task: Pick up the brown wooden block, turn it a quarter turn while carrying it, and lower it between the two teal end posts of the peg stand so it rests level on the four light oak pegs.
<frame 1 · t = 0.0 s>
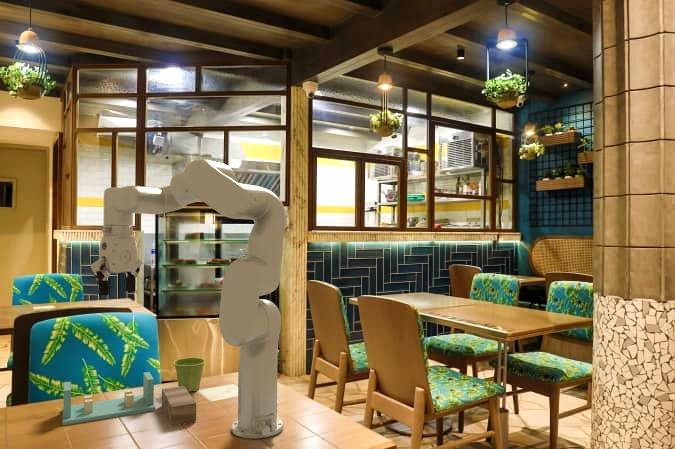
hand: (117, 293, 138), 31 cm above the table, tool pointing down, fingers open, 9 cm apart
plant pot: (189, 390, 152), on the table
peg stand: (109, 410, 134), on the table
brown wooden block: (178, 414, 132), on the table
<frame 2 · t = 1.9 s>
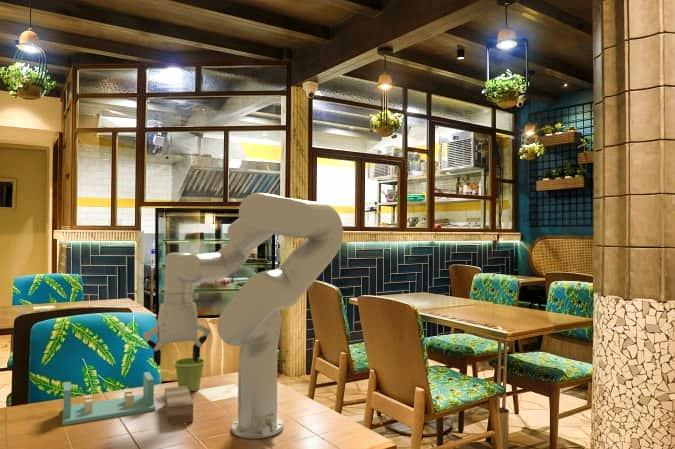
hand: (176, 362, 132), 13 cm above the table, tool pointing down, fingers open, 9 cm apart
nothing on the table moved.
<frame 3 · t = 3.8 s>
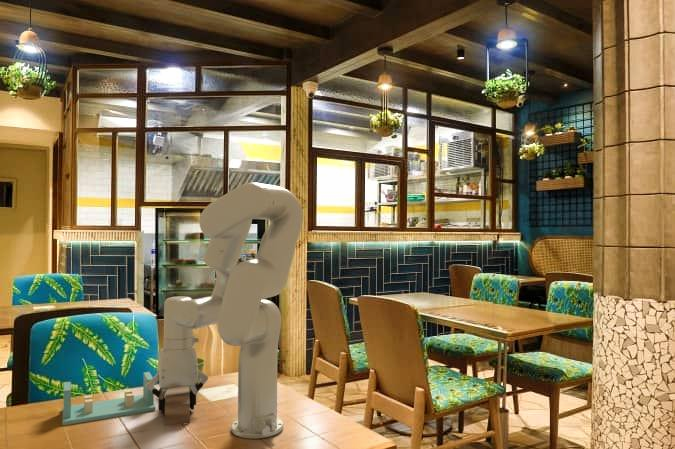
hand: (177, 409, 132), 1 cm above the table, tool pointing down, fingers closed on brown wooden block, 6 cm apart
brown wooden block: (177, 413, 132), on the table, touching gripper
everything else where it was.
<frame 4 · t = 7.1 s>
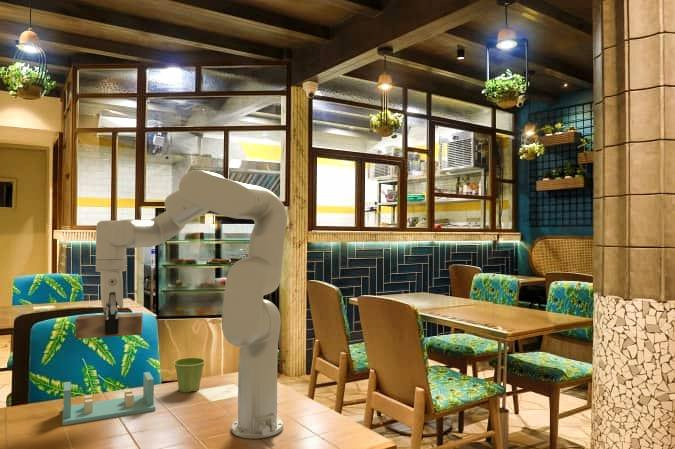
hand: (110, 331, 134), 21 cm above the table, tool pointing down, fingers closed on brown wooden block, 6 cm apart
brown wooden block: (110, 334, 134), point 20 cm above the table, touching gripper
everything else where it was.
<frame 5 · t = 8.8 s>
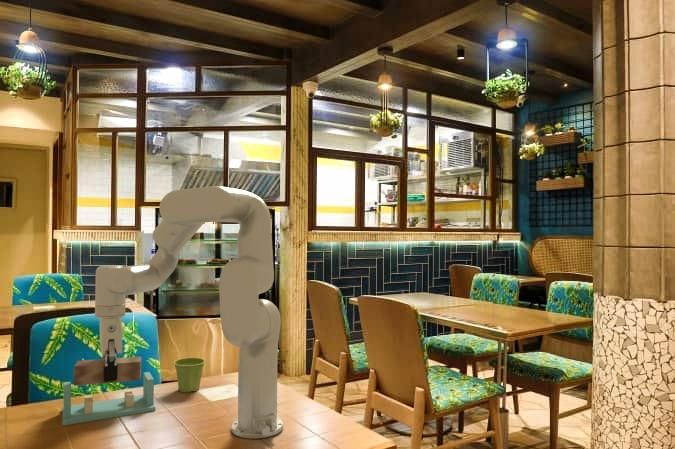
hand: (109, 376, 134), 9 cm above the table, tool pointing down, fingers closed on brown wooden block, 6 cm apart
brown wooden block: (108, 379, 134), point 8 cm above the table, touching gripper
everything else where it was.
when the fingers open (6 cm above the table, at t = 10.3 s): brown wooden block drops 1 cm, resting on peg stand.
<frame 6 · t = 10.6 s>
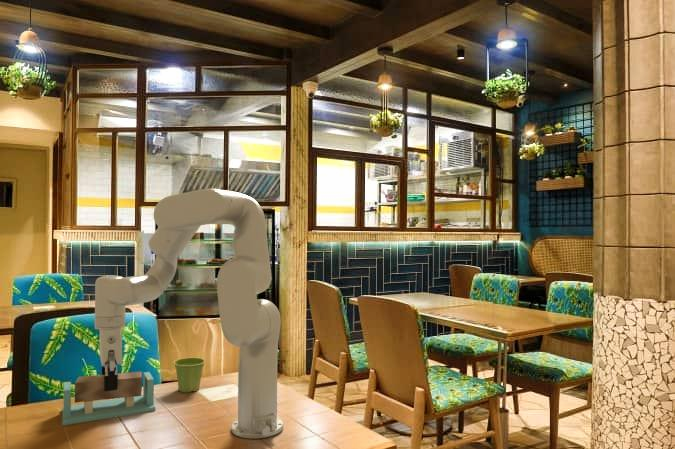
hand: (109, 385, 134), 7 cm above the table, tool pointing down, fingers open, 9 cm apart
brown wooden block: (109, 395, 134), point 4 cm above the table, touching peg stand
everything else where it was.
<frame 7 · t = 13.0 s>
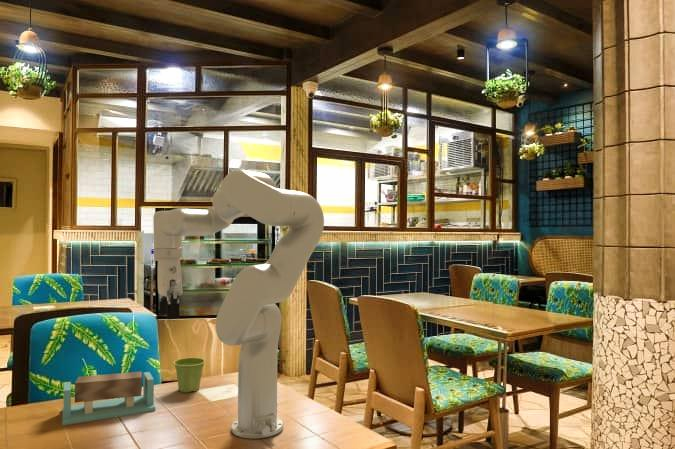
hand: (169, 316, 138), 25 cm above the table, tool pointing down, fingers open, 9 cm apart
nothing on the table moved.
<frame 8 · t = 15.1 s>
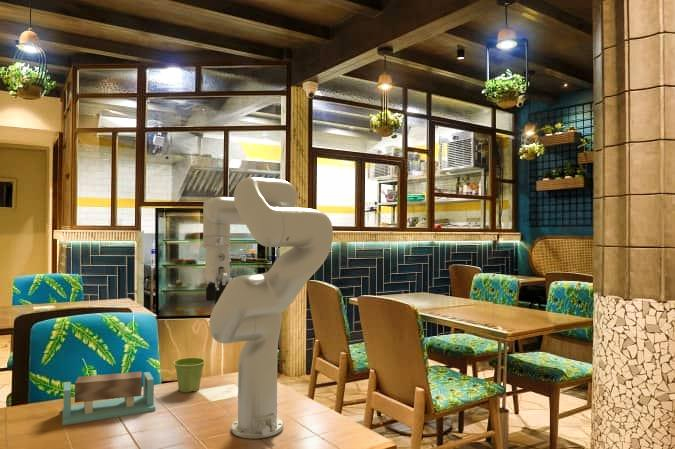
hand: (216, 302, 141), 28 cm above the table, tool pointing down, fingers open, 9 cm apart
nothing on the table moved.
at the end: brown wooden block 0.1 cm off-centre on the peg stand, point 4.0 cm above the peg stand's base; brown wooden block tilted 0°; the gripper is holding nothing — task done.
